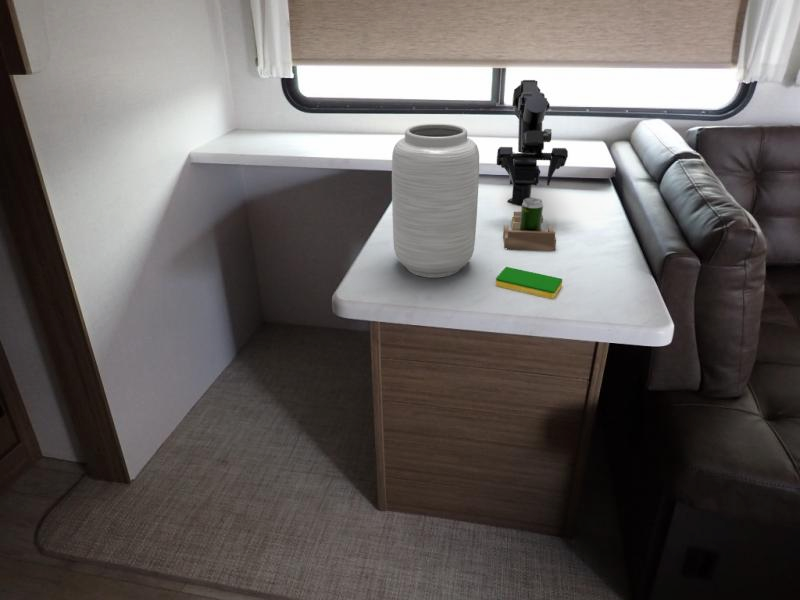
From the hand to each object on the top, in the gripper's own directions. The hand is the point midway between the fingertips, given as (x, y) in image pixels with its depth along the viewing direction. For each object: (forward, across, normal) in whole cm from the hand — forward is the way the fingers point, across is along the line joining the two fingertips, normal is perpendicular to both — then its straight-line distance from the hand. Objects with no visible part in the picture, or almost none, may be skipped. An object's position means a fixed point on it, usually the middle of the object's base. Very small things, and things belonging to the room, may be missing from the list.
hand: (531, 184), depth 156 cm
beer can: (+16, 0, +4) cm, 16 cm away
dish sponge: (+34, -2, -13) cm, 36 cm away
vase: (+27, -25, -7) cm, 37 cm away
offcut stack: (+9, 0, +11) cm, 14 cm away
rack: (+16, 0, +4) cm, 16 cm away
